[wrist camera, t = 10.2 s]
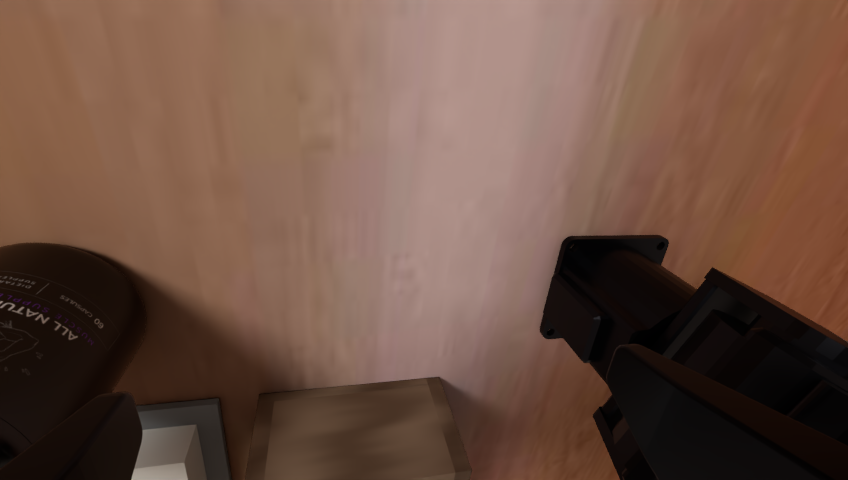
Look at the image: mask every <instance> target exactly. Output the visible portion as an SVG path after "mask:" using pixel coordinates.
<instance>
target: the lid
mask: <svg viewBox="0 0 848 480" xmlns="http://www.w3.org/2000/svg"><path fill="white" fill-rule="evenodd" d="M131 480H207V477H206V472H205V467H204V461H203V456H202V451H201V446H200V440H199V435H198V430H197V425H196V424H195V425H186V426H176V427H167V428H157V429H148V430H143V435H142V442H141V446H140V450H139V453H138V457H137V461H136V464H135V468H134V471H133V475H132V479H131Z"/></svg>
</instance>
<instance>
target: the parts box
mask: <svg viewBox="0 0 848 480" xmlns="http://www.w3.org/2000/svg"><path fill="white" fill-rule="evenodd" d="M471 472H472V469H471V466H470V464H469V461H468V458H467V455H466V452H465V449H464V446H463V444H462V441H461V438H460V435H459V432H458V429H457V426H456V424H455V421H454V418H453V415H452V412H451V409H450V406H449V404H448V401H447V398H446V395H445V392H444V389H443V387H442V384H441V381H440V378H439V377H435V378H424V379H414V380H403V381H393V382H382V383H372V384H362V385H351V386H341V387H330V388H320V389H309V390H299V391H288V392H278V393H267V394H259V400H258V406H257V412H256V417H255V423H254V429H253V435H252V441H251V447H250V452H249V458H248V464H247V470H246V476H245V480H470V476H471Z"/></svg>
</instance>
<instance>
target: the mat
mask: <svg viewBox="0 0 848 480" xmlns="http://www.w3.org/2000/svg"><path fill="white" fill-rule="evenodd" d="M136 408H137V411H138V414H139V418H140V421H141V425H142V430H148V429H157V428H167V427H176V426H186V425H195V424H196V425H197V430H198V435H199V440H200V446H201V451H202V456H203V461H204V467H205V472H206V477H207V480H232V478H231V472H230V465H229V459H228V453H227V447H226V440H225V434H224V428H223V422H222V415H221V409H220V403H219V398H215V399H205V400H194V401H184V402H173V403H163V404H152V405H142V406H136Z"/></svg>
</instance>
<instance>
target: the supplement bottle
mask: <svg viewBox="0 0 848 480" xmlns="http://www.w3.org/2000/svg"><path fill="white" fill-rule="evenodd" d="M146 325H147V317H146V310H145V306H144V304H143V301H142V298H141V296H140V295H139V293H138V291H137V290H136V288H135V287H134V285H133V284H132V283H131V282H130V280H129V279H128V278H127V277H126V276H125V275H124V274H122V273H121V272H120V271H119V270H118V269H116V268H115V267H114V266H112V265H111V264H109V263H107V262H106V261H104V260H102V259H100V258H98V257H97V256H94V255H92V254H90V253H87V252H85V251H82V250H79V249H76V248H72V247H68V246H63V245H58V244H50V243H20V244H13V245H8V246H3V247H0V469H1V468H2V467H3V466H5V465H6V464H7V463H9V462H10V461H11V460H13V459H14V458H15V457H17V456H18V455H19V454H21V453H22V452H23V451H25V450H26V449H27V448H28V447H30V446H31V445H32V444H34V443H35V442H36V441H38V440H39V439H40V438H42V437H43V436H44V435H46V434H47V433H48V432H50V431H51V430H52V429H54V428H55V427H56V426H58V425H59V424H60V423H62V422H63V421H64V420H66V419H67V418H68V417H70V416H71V415H72V414H74V413H75V412H76V411H77V410H79V409H80V408H81V407H83V406H84V405H85V404H87V403H88V402H89V401H91V400H92V399H93V398H95V397H97V396H98V395H101V394H106V393H112V391H113V390H114V388H115V386H116V385H117V383H118V382H119V380H120V378H121V377H122V375H123V374H124V372H125V370H126V369H127V367H128V365H129V364H130V362H131V361H132V359H133V357H134V355H135V354H136V352H137V350H138V349H139V347H140V345H141V343H142V340H143V338H144V335H145V332H146Z"/></svg>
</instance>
